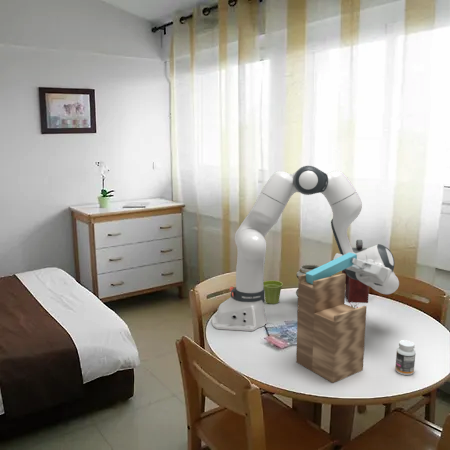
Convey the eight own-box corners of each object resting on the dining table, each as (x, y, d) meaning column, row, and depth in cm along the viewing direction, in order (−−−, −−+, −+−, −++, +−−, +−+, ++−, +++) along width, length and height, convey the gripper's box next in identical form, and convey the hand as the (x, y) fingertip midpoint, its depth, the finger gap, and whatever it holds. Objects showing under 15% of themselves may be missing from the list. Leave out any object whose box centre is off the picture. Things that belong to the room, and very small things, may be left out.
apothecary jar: (290, 303, 215) (291, 264, 211) (312, 298, 220) (313, 261, 216) (306, 312, 204) (307, 272, 200) (328, 307, 209) (330, 268, 206)
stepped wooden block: (332, 383, 148) (337, 289, 142) (296, 362, 161) (298, 275, 155) (362, 370, 156) (368, 281, 149) (325, 351, 169) (328, 268, 163)
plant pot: (268, 307, 210) (269, 288, 208) (257, 300, 218) (257, 282, 217) (286, 303, 214) (286, 285, 213) (274, 297, 223) (275, 279, 221)
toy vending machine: (340, 295, 224) (342, 237, 219) (364, 296, 223) (367, 237, 218) (342, 302, 216) (345, 241, 210) (368, 302, 214) (371, 242, 209)
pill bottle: (392, 367, 157) (394, 339, 155) (408, 366, 158) (411, 338, 156) (399, 376, 152) (402, 347, 150) (417, 375, 152) (419, 346, 150)
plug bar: (313, 284, 153) (312, 275, 152) (306, 282, 156) (305, 273, 155) (357, 262, 164) (356, 254, 163) (349, 260, 167) (349, 252, 166)
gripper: (349, 257, 180) (328, 243, 172) (396, 271, 163) (374, 256, 155) (342, 272, 179) (321, 259, 171) (388, 288, 163) (367, 274, 155)
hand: (347, 258), depth 163 cm, fingers closed on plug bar, 3 cm apart
